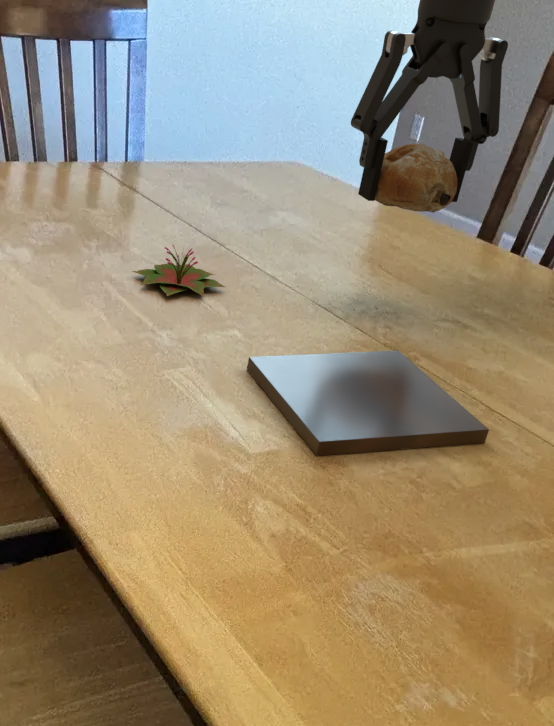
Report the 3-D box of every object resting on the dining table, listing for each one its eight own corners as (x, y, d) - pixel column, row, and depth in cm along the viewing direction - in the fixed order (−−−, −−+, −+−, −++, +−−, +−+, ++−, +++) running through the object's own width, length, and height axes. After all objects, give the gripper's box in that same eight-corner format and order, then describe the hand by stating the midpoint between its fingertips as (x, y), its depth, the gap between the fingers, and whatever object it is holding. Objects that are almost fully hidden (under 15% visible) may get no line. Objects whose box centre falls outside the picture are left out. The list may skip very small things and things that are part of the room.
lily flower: (242, 295, 111) (247, 259, 109) (162, 306, 106) (166, 269, 103) (191, 264, 119) (195, 230, 117) (115, 273, 114) (117, 238, 111)
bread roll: (400, 245, 101) (444, 187, 95) (341, 186, 103) (380, 125, 97) (441, 231, 107) (485, 176, 101) (385, 175, 109) (425, 118, 103)
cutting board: (395, 362, 98) (398, 350, 97) (484, 443, 85) (489, 429, 84) (246, 369, 94) (248, 356, 93) (316, 456, 80) (319, 441, 79)
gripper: (535, -20, 96) (474, 190, 109) (347, -36, 90) (307, 187, 103) (578, -12, 90) (508, 208, 103) (380, -30, 84) (333, 206, 97)
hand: (407, 198), depth 103 cm, fingers closed on bread roll, 10 cm apart
